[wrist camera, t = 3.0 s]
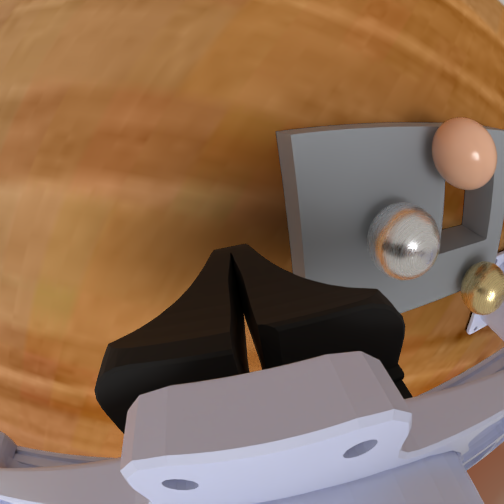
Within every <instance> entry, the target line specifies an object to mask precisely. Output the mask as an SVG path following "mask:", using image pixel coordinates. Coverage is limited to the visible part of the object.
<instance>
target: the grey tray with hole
mask: <svg viewBox="0 0 504 504" xmlns="http://www.w3.org/2000/svg"><path fill="white" fill-rule="evenodd" d="M442 124H443V123H430V122H390V123H362V124H345V125H332V126H320V127H310V128H301V129H292V130H284V131H276V137H277V144H278V151H279V158H280V166H281V173H282V181H283V189H284V197H285V205H286V214H287V222H288V231H289V240H290V249H291V259H292V269H293V274H295V275H298V276H300V277H303V278H306V279H310V280H313V281H317V282H321V283H325V284H330V285H336V286H343V287H352V288H373V289H378V290H379V291H380V292H381V293H382V294H383V295H384V296H385V297H386V298H387V299H388V300H389V301H390V302H391V303H392V304H393V306H394V307H395V308H396V309H397V311H398V312H399V313H403V312H406V311H408V310H411V309H414V308H417V307H420V306H422V305H425V304H428V303H430V302H433V301H436V300H438V299H441V298H444V297H446V296H449V295H451V294H454V293H456V292H459V291H461V284H462V280H463V277H464V275H465V273H466V272H467V270H468V269H469V268H470V267H471V266H473V265H474V264H476V263H478V262H482V261H487V262H492V263H494V264H495V261H496V256H497V252H498V247H499V242H500V236H501V231H502V225H503V219H504V130H502V129H497V128H492V127H488V126H483V125H482V126H483V127H484V128H485V129H486V130H487V131H488V133H489V134H490V135H491V137H492V139H493V141H494V143H495V146H496V151H497V165H496V169H495V172H494V174H493V176H492V178H491V179H490V180H489V181H488V182H487V183H486V184H485V185H484V186H482V187H480V188H478V189H474V190H465V199H464V210H463V219H462V225H459V226H455V227H451V228H447V229H443V230H442V220H443V209H444V193H445V180H444V179H443V177H442V176H441V175H440V174H439V172H438V170H437V169H436V167H435V164H434V161H433V158H432V141H433V138H434V135H435V133H436V131H437V129H438V128H439V127H440V126H441V125H442ZM400 202H407V203H412V204H416V205H418V206H420V207H422V208H423V209H425V210H426V211H427V212H428V213H429V214H430V215H431V216H432V218H433V219H434V220H435V222H436V224H437V227H438V229H439V233H440V250H439V254H438V257H437V259H436V261H435V263H434V264H433V266H432V267H431V268H430V269H429V270H428V271H427V272H426V273H425V274H423V275H422V276H420V277H418V278H415V279H412V280H397V279H393V278H390V277H388V276H386V275H385V274H383V273H382V272H381V271H380V270H379V269H378V268H377V267H376V266H375V264H374V263H373V261H372V259H371V257H370V254H369V251H368V246H367V236H368V231H369V227H370V225H371V223H372V221H373V219H374V218H375V216H376V215H377V214H378V213H379V212H380V211H381V210H382V209H384V208H385V207H387V206H389V205H391V204H394V203H400Z"/></svg>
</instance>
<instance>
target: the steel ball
mask: <svg viewBox="0 0 504 504" xmlns="http://www.w3.org/2000/svg"><path fill="white" fill-rule="evenodd" d="M367 246H368V251H369V254H370V257H371V259H372V261H373V263H374V264H375V266H376V267H377V268H378V269H379V270H380V271H381V272H382V273H383V274H385V275H386V276H388V277H390V278H393V279H397V280H412V279H415V278H418V277H420V276H422V275H423V274H425V273H426V272H427V271H428V270H429V269H430V268H431V267H432V266H433V264H434V263H435V261H436V259H437V257H438V254H439V250H440V233H439V229H438V227H437V224H436V222H435V220H434V219H433V218H432V216H431V215H430V214H429V213H428V212H427V211H426V210H425V209H423V208H422V207H420V206H418V205H416V204H412V203H407V202H400V203H394V204H391V205H389V206H387V207H385V208H384V209H382V210H381V211H380V212H379V213H378V214H377V215H376V216H375V218H374V219H373V221H372V223H371V225H370V227H369V231H368V236H367Z"/></svg>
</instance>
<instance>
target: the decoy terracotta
mask: <svg viewBox="0 0 504 504" xmlns="http://www.w3.org/2000/svg"><path fill="white" fill-rule="evenodd" d="M432 158H433V161H434V164H435V167H436V169H437V170H438V172H439V174H440V175H441V176H442V177H443V179H444V180H445V181H447V182H448V183H449V184H451V185H452V186H454V187H456V188H459V189H463V190H474V189H478V188H480V187H482V186H484V185H485V184H486V183H487V182H488V181H489V180H490V179H491V178H492V176H493V174H494V172H495V169H496V165H497V151H496V146H495V143H494V141H493V139H492V137H491V135H490V134H489V133H488V131H487V130H486V129H485V128H484V127H483V126H482V125H481V124H479V123H478V122H476V121H474V120H472V119H469V118H464V117H457V118H452V119H449V120H447V121H446V122H444V123H443V124H442V125H441V126H440V127H439V128H438V129H437V131H436V133H435V135H434V138H433V141H432Z"/></svg>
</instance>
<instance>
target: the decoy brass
mask: <svg viewBox="0 0 504 504" xmlns="http://www.w3.org/2000/svg"><path fill="white" fill-rule="evenodd" d="M461 296H462V299H463V302H464V304H465V305H466V307H467V308H468V309H469V310H470V311H471V312H473V313H475V314H478V315H488V314H491V313H493V312H494V311H496V310H497V309H498V308H499V307H500V306H501V305H502V303H503V301H504V273H503V271H502V270H501V269H500V268H499V267H498V266H497V265H496V264H494V263H492V262H487V261H482V262H478V263H476V264H474V265H473V266H471V267H470V268H469V269H468V270H467V272H466V273H465V275H464V277H463V280H462V284H461Z"/></svg>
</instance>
